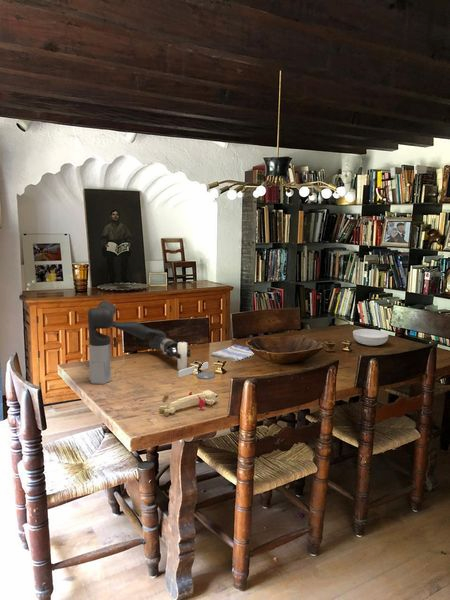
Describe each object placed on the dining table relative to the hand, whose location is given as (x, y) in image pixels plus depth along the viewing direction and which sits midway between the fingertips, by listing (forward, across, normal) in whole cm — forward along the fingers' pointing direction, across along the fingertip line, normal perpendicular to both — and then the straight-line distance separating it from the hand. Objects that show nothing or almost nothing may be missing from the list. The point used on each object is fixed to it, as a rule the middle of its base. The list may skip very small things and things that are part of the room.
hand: (184, 356), depth 236 cm
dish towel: (-13, -38, -8) cm, 40 cm away
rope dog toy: (+43, +18, -8) cm, 47 cm away
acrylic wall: (+5, -3, -7) cm, 9 cm away
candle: (-3, 0, -7) cm, 8 cm away
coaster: (+12, -5, -7) cm, 15 cm away
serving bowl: (+4, -123, -8) cm, 124 cm away
